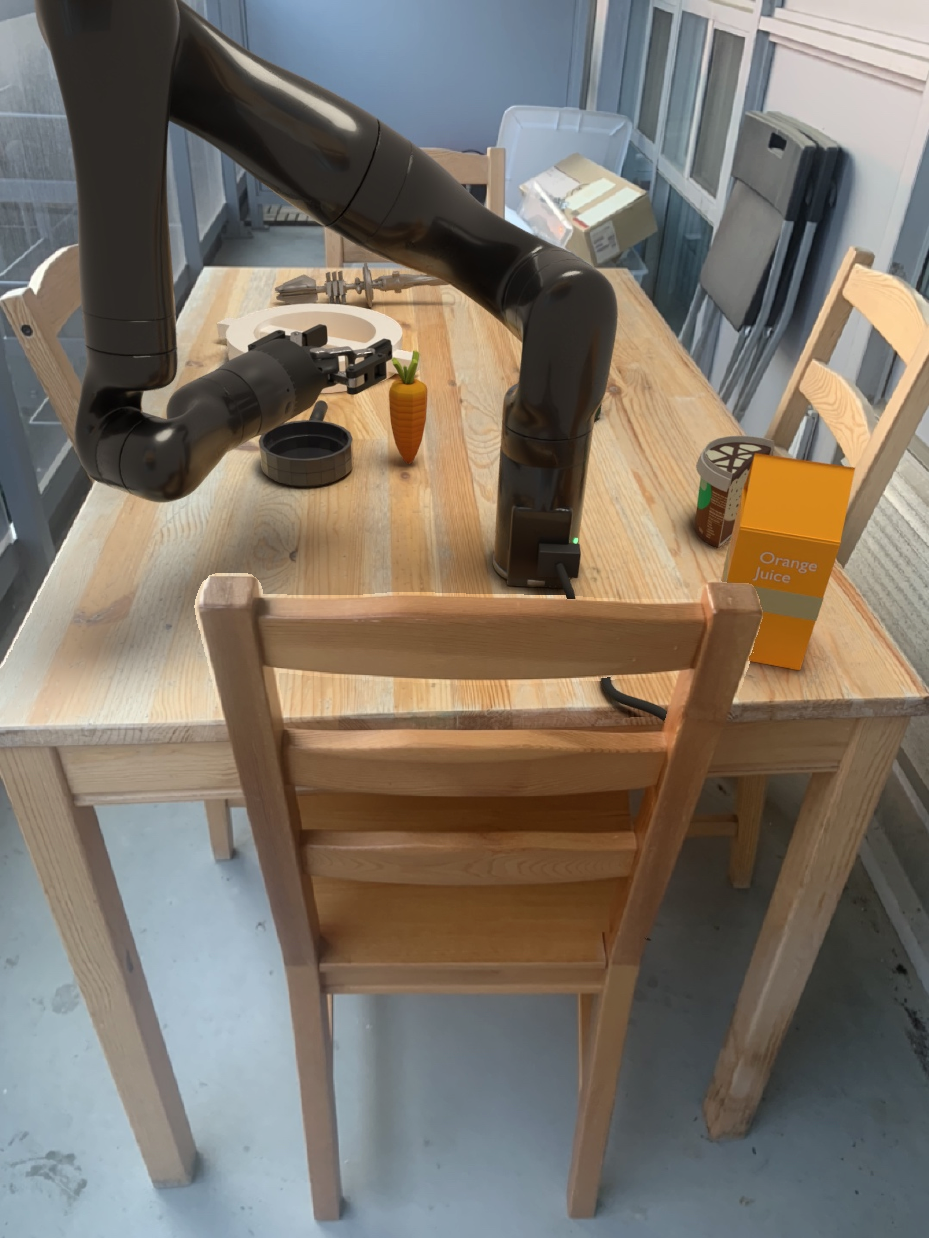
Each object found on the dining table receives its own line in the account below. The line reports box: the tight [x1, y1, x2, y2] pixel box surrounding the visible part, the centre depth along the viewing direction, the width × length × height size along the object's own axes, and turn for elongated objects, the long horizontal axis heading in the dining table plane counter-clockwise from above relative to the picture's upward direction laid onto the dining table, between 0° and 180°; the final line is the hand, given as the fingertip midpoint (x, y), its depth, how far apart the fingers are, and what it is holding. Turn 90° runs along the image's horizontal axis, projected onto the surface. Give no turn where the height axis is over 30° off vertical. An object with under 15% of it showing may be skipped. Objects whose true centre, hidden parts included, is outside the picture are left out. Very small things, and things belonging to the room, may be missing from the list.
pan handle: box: [308, 399, 329, 421], centre depth 125 cm, size 7×2×2 cm, turn 178°
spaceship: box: [274, 261, 451, 308], centre depth 171 cm, size 8×35×8 cm
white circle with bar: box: [216, 303, 421, 394], centre depth 149 cm, size 28×28×5 cm
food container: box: [694, 435, 776, 549], centre depth 108 cm, size 12×6×10 cm, turn 141°
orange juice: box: [720, 453, 856, 671], centre depth 87 cm, size 8×9×20 cm
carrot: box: [388, 349, 428, 465], centre depth 117 cm, size 5×5×15 cm
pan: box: [258, 419, 355, 488], centre depth 119 cm, size 12×12×4 cm
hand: (356, 340), depth 102 cm, fingers open, 8 cm apart
